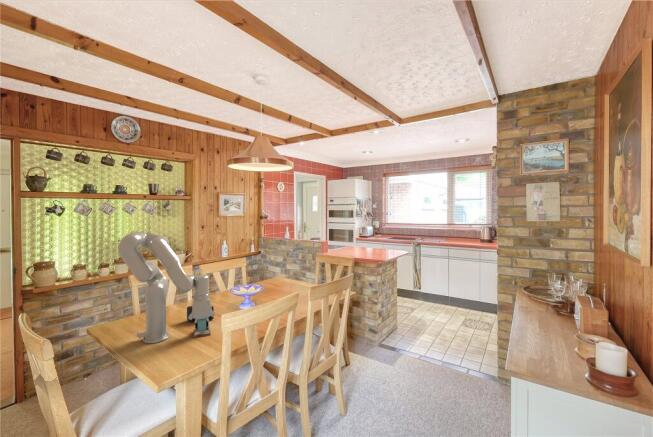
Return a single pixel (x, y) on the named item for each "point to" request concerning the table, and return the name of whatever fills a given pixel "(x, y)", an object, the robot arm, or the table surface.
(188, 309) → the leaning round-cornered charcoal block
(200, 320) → the teal block
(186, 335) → the table surface
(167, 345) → the table surface
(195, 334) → the block cradle
